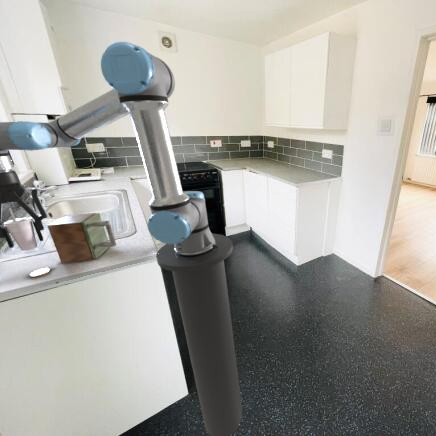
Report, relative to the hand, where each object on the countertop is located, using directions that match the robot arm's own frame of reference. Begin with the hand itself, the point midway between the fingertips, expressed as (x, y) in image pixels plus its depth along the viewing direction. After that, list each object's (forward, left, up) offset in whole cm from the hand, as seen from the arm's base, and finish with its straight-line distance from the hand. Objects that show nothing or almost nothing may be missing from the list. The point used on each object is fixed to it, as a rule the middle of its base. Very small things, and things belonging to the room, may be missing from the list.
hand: (27, 242), depth 79 cm
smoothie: (0, 0, -2) cm, 2 cm away
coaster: (0, 0, -12) cm, 12 cm away
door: (-17, -12, -11) cm, 24 cm away
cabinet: (-8, -11, -12) cm, 18 cm away
